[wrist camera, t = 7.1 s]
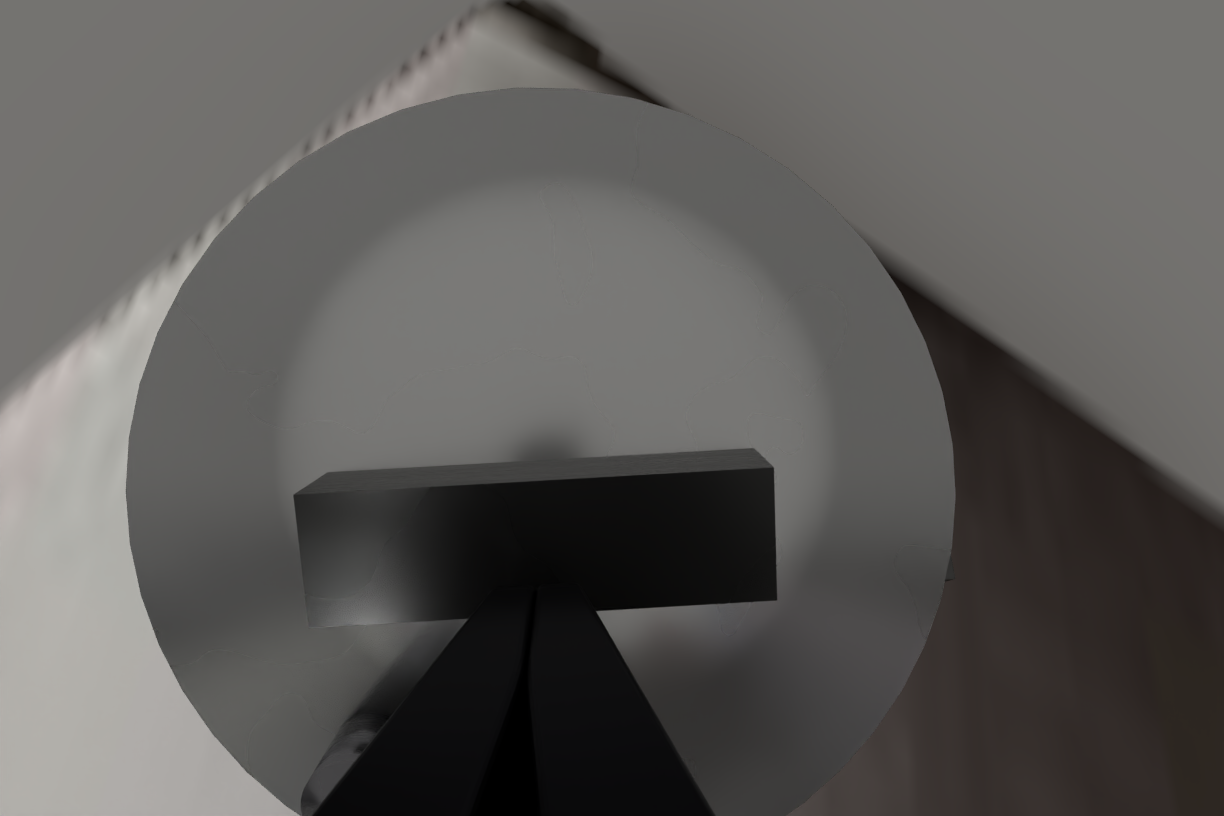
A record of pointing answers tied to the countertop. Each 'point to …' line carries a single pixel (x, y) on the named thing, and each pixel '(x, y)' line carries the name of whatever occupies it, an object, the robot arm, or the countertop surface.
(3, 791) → the countertop surface
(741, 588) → the lid
